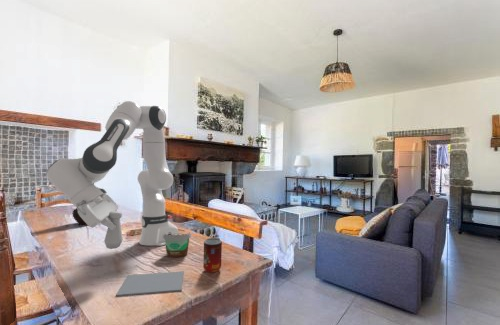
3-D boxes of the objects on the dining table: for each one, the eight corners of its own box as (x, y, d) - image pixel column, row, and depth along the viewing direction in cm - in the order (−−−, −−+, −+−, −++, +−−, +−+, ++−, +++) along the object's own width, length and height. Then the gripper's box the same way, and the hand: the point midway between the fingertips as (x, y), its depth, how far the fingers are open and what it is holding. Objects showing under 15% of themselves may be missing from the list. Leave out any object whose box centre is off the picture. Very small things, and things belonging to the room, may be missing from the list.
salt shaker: (118, 242, 93) (120, 208, 93) (124, 247, 90) (127, 212, 89) (101, 246, 89) (103, 210, 88) (107, 251, 85) (110, 214, 85)
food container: (162, 260, 107) (162, 237, 107) (163, 255, 113) (163, 233, 113) (191, 257, 110) (191, 235, 110) (190, 252, 116) (191, 231, 116)
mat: (115, 296, 77) (115, 294, 77) (127, 276, 91) (127, 275, 91) (181, 290, 81) (181, 289, 81) (183, 272, 95) (183, 271, 95)
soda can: (199, 270, 97) (200, 239, 98) (214, 265, 102) (215, 236, 102) (209, 276, 92) (210, 243, 92) (224, 271, 97) (225, 240, 97)
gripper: (82, 197, 77) (114, 229, 79) (105, 188, 97) (130, 213, 99) (65, 211, 76) (98, 242, 78) (92, 199, 96) (118, 224, 98)
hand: (116, 226), depth 89 cm, fingers closed on salt shaker, 3 cm apart
